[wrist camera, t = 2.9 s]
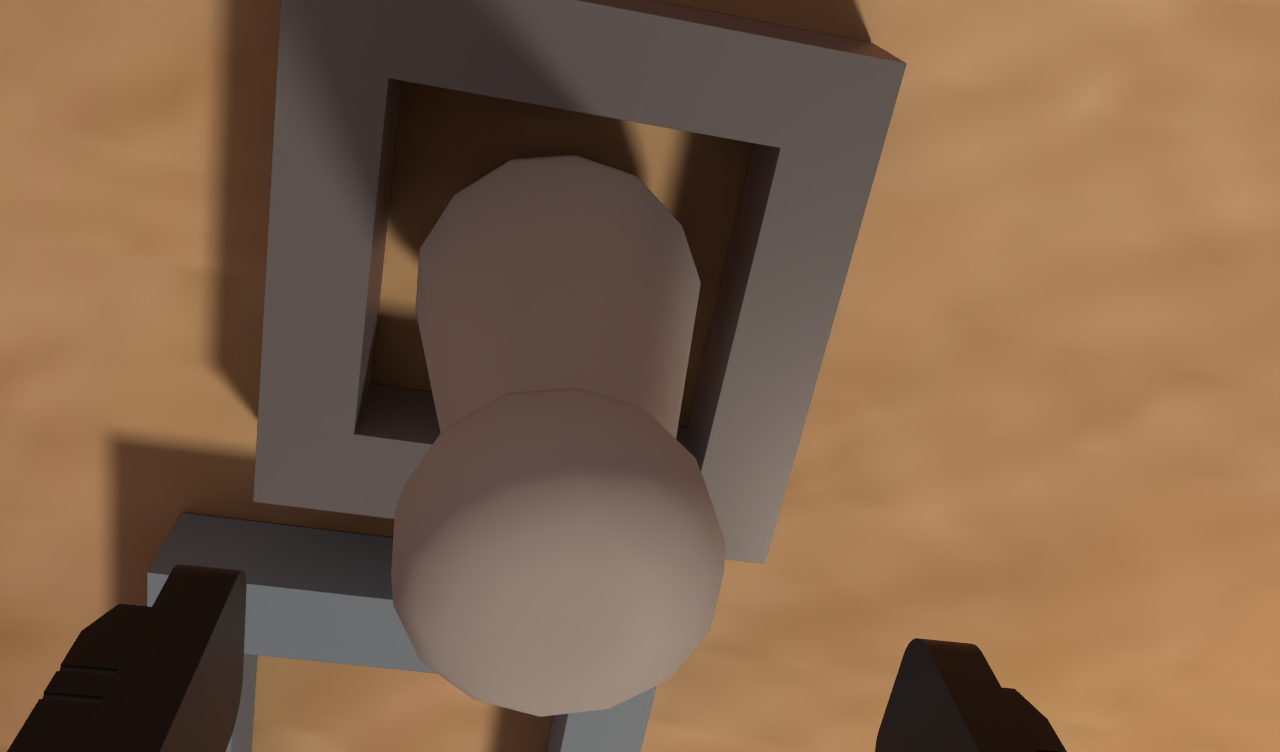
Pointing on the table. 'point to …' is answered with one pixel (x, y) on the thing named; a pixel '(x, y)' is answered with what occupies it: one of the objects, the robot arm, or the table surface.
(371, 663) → the collar
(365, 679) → the table surface
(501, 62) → the collar
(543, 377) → the salt shaker
